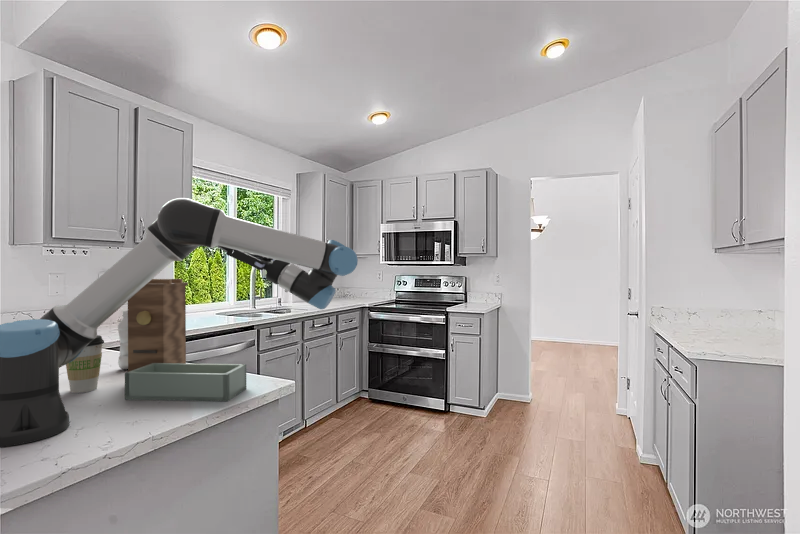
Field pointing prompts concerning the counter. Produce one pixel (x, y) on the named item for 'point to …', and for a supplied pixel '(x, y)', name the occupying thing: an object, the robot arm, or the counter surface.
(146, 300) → the brown wooden box
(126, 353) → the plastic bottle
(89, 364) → the coffee cup
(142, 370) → the tray
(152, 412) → the counter surface
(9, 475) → the counter surface
